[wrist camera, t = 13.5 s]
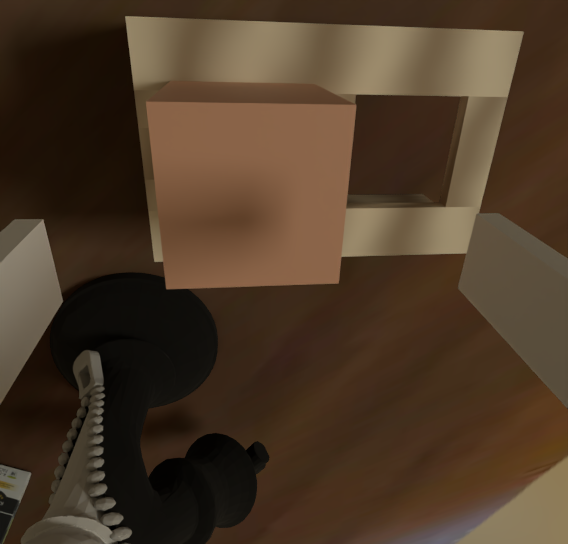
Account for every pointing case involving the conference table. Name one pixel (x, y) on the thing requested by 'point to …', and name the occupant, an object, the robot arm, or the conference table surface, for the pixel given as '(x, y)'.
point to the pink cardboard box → (250, 182)
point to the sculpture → (139, 421)
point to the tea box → (10, 495)
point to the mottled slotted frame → (347, 83)
